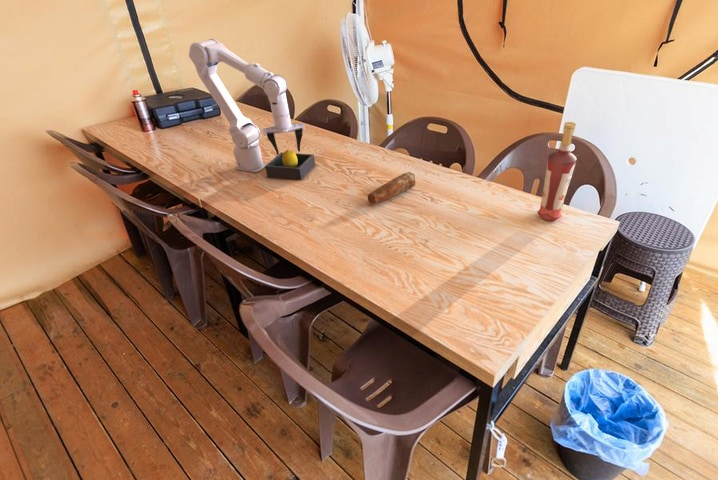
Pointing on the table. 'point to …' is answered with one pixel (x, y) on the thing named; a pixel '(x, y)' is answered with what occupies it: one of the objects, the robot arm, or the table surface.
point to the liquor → (558, 177)
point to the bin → (297, 173)
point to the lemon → (289, 159)
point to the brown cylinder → (392, 188)
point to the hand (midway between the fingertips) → (288, 152)
